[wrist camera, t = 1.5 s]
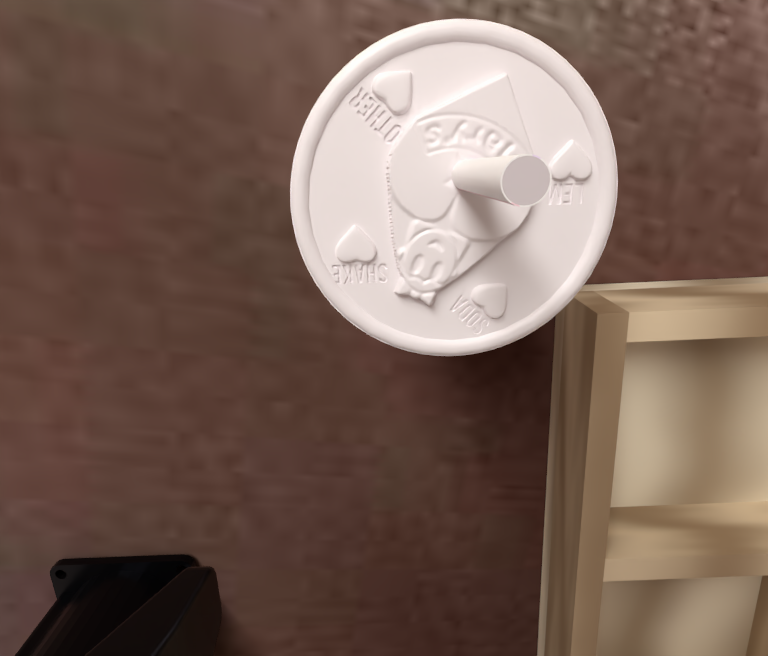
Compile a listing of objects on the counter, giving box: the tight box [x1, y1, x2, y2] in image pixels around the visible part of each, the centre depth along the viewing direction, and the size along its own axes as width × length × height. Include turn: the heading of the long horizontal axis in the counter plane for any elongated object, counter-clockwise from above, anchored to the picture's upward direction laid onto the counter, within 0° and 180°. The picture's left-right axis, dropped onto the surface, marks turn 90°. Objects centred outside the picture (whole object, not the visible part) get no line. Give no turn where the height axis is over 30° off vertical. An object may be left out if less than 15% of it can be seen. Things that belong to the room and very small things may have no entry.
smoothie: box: [290, 19, 618, 356], centre depth 12 cm, size 6×6×14 cm
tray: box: [537, 277, 768, 656], centre depth 21 cm, size 10×20×4 cm, turn 3°
